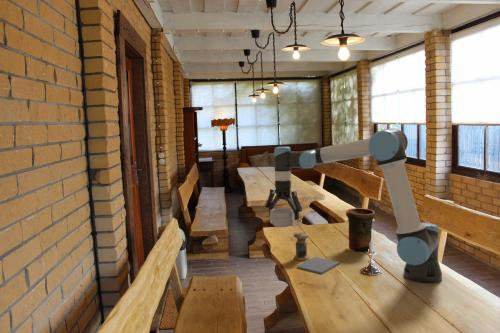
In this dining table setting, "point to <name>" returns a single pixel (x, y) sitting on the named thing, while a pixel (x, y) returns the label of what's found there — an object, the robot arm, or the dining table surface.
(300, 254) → the brown rounded upright piece
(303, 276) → the dining table surface
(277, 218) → the teacup
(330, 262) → the pad
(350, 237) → the vessel
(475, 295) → the dining table surface
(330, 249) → the dining table surface
